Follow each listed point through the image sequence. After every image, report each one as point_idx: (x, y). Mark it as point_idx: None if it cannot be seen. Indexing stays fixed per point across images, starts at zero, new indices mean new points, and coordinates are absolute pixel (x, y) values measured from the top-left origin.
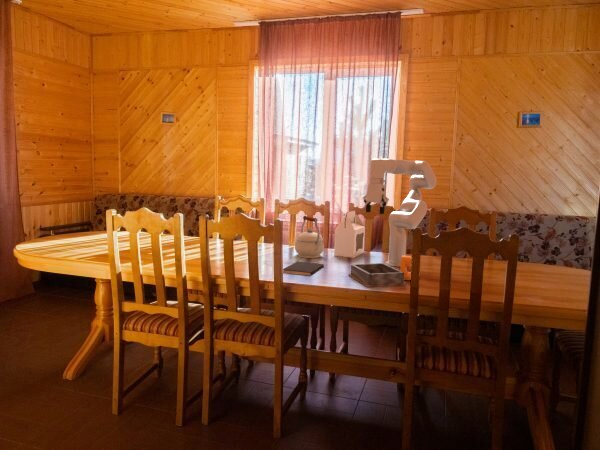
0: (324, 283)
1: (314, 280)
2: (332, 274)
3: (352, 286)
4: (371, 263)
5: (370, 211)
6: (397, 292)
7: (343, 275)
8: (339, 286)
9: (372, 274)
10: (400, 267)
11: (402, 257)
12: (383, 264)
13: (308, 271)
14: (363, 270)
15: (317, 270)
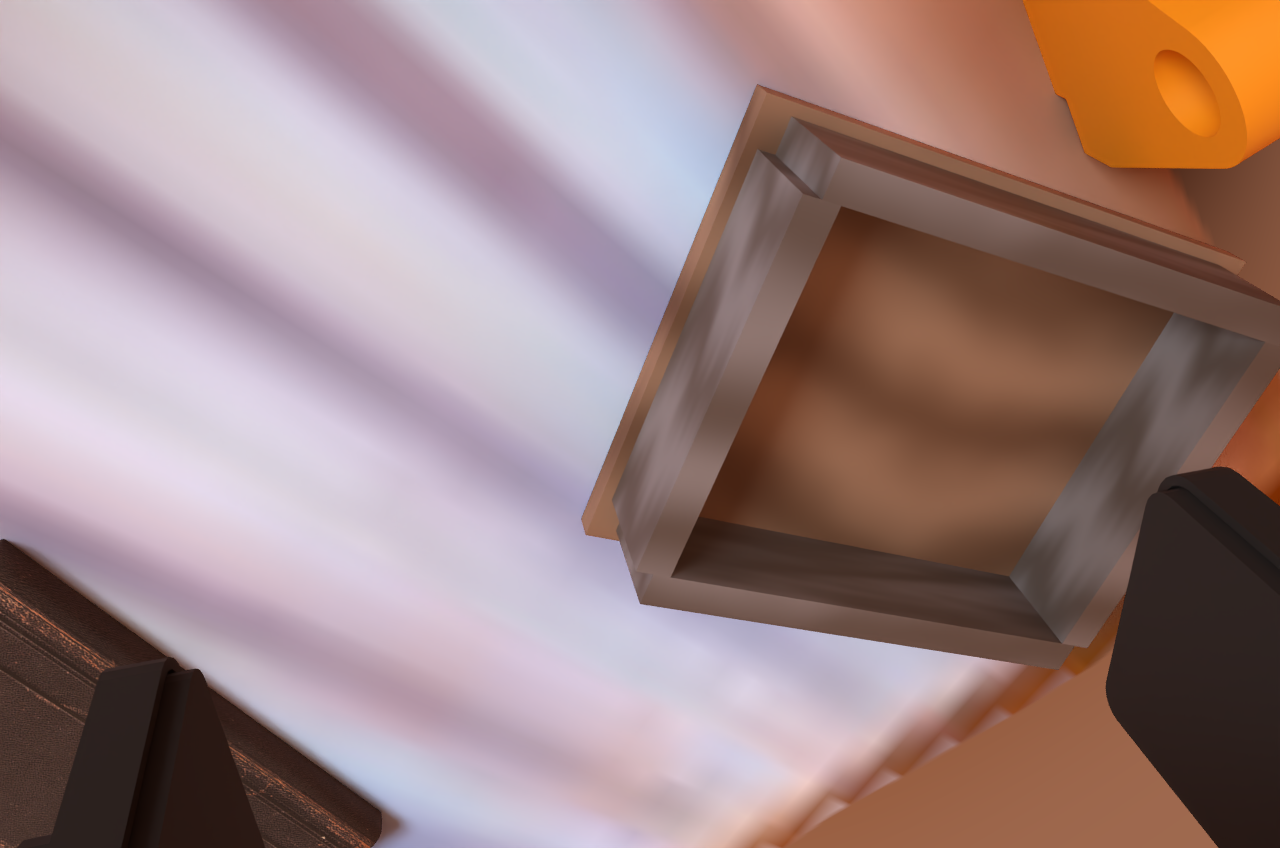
0: (687, 814)
1: (559, 842)
2: (438, 628)
3: (898, 680)
4: (740, 339)
5: (194, 684)
6: (1262, 479)
7: (536, 555)
8: (830, 759)
9: (1089, 642)
10: (1164, 165)
11: (1255, 151)
12: (877, 216)
13: (334, 846)
14: (933, 634)
15: (219, 702)
